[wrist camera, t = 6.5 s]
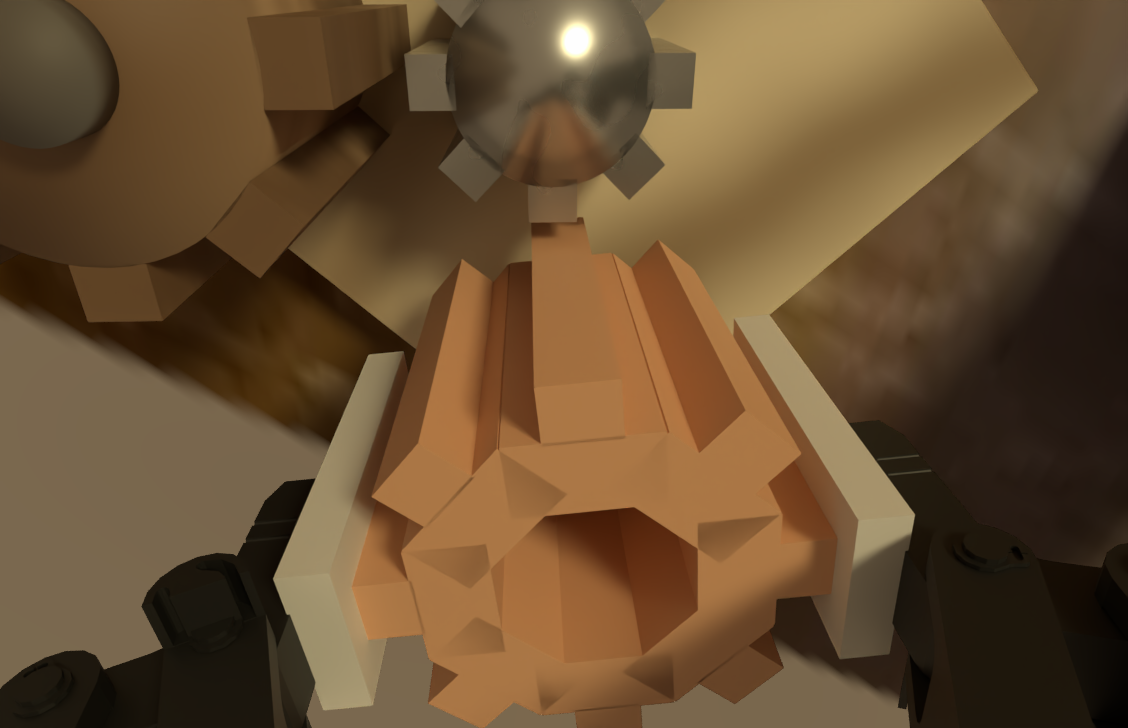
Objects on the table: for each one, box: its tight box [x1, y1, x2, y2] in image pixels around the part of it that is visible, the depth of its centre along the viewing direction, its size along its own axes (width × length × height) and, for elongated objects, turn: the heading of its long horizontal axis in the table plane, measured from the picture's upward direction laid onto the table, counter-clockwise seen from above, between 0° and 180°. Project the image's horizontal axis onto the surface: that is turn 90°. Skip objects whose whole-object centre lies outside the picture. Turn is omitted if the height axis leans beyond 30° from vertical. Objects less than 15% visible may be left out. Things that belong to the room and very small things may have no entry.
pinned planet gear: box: [0, 0, 411, 322], centre depth 12 cm, size 7×7×8 cm
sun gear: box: [404, 0, 696, 223], centre depth 14 cm, size 5×5×4 cm
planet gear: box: [352, 217, 838, 728], centre depth 14 cm, size 7×7×7 cm
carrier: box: [288, 0, 1038, 349], centre depth 14 cm, size 17×15×6 cm
